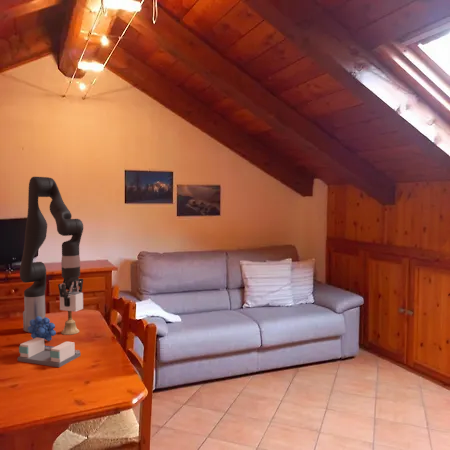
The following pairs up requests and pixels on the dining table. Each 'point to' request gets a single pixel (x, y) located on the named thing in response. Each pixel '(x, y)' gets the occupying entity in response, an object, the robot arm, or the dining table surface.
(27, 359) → the rail board
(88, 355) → the dining table surface
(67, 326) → the hand bell
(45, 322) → the grapes
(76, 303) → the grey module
